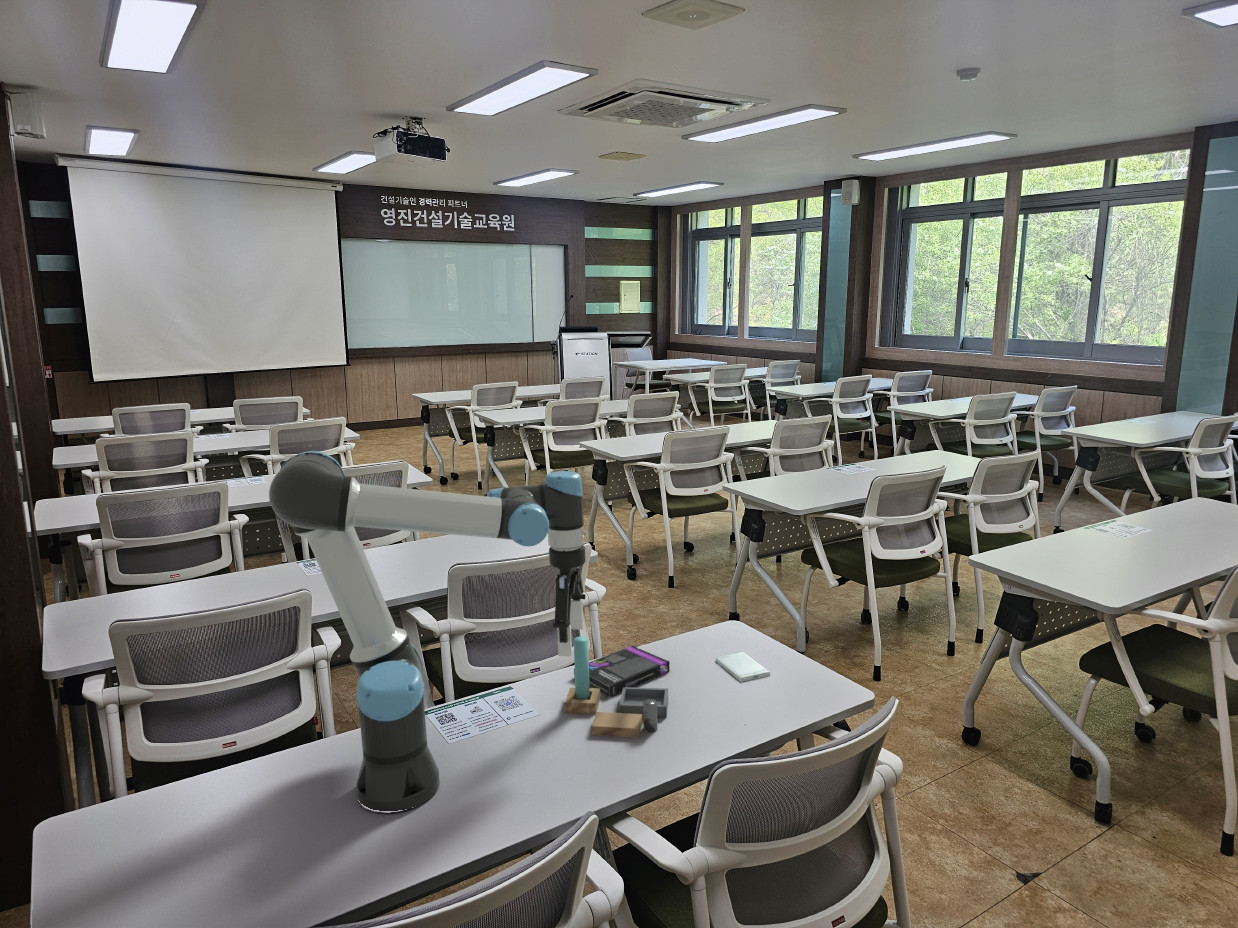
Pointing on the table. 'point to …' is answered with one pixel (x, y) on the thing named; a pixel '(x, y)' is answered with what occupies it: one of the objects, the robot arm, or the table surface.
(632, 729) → the tan block
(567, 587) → the robot arm
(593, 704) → the socket block
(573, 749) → the table surface
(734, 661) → the hard drive
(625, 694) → the tray
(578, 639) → the dowel
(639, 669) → the box
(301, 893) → the table surface
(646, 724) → the bench dog
